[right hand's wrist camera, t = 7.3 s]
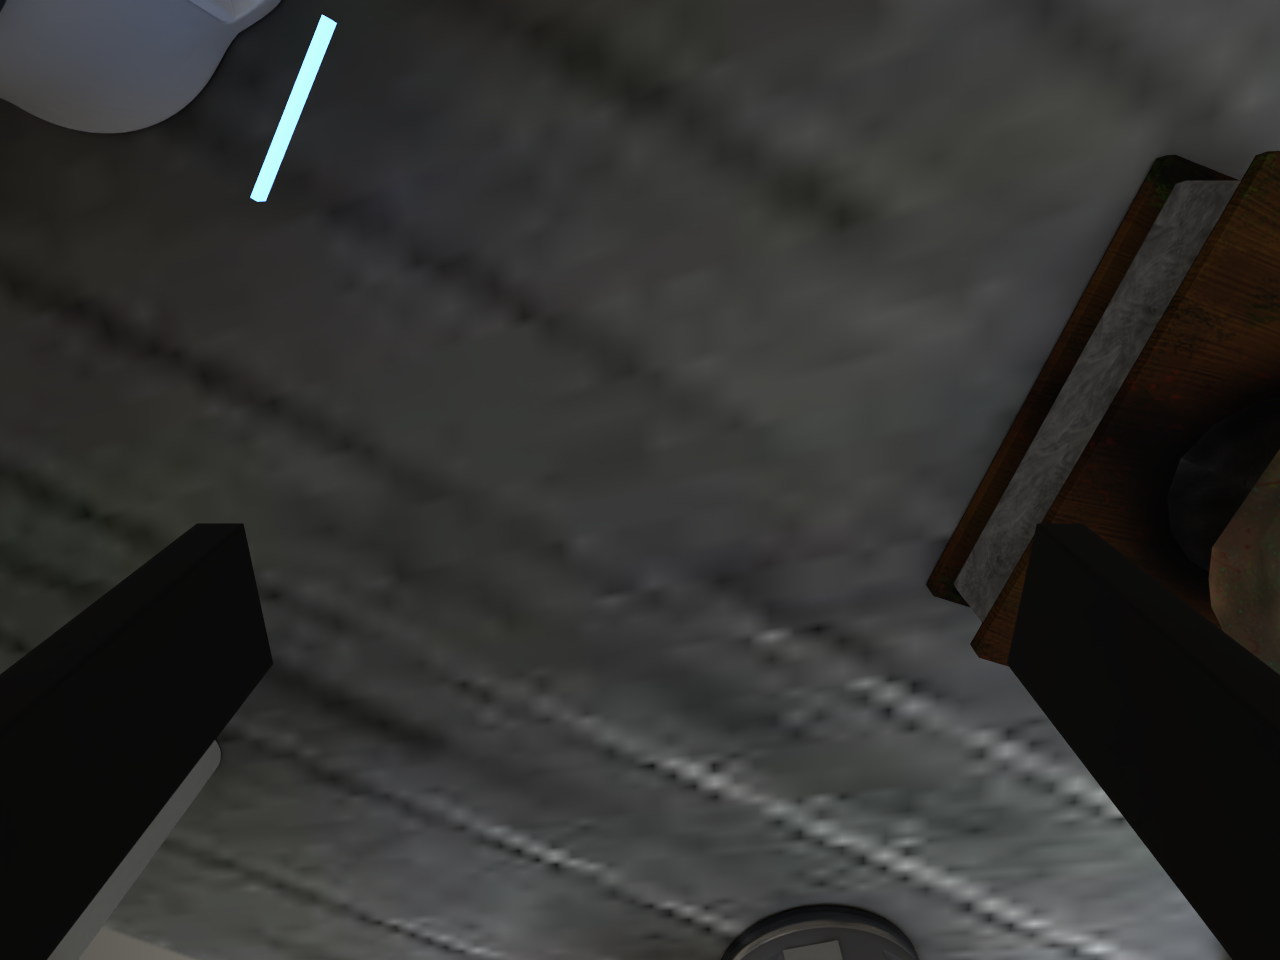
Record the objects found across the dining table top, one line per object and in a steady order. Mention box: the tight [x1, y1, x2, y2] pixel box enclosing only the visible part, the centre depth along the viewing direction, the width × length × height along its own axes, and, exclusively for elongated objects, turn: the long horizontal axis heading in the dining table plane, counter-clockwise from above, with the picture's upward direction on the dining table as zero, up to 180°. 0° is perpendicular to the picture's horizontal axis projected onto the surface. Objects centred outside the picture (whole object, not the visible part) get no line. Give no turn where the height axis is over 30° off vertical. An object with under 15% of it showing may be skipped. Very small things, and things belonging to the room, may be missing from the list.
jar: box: [47, 740, 221, 960], centre depth 41 cm, size 4×4×16 cm
